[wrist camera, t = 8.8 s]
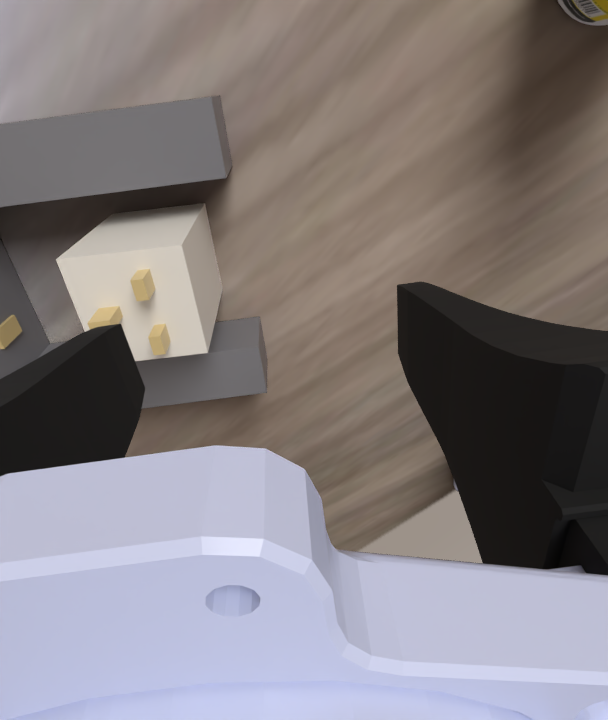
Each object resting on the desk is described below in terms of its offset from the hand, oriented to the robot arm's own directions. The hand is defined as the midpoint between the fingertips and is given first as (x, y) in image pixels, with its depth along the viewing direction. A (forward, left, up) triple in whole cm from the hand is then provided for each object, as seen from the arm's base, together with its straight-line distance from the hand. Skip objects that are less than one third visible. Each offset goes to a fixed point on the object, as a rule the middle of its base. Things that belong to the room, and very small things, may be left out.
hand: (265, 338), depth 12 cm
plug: (0, +5, -10) cm, 11 cm away
